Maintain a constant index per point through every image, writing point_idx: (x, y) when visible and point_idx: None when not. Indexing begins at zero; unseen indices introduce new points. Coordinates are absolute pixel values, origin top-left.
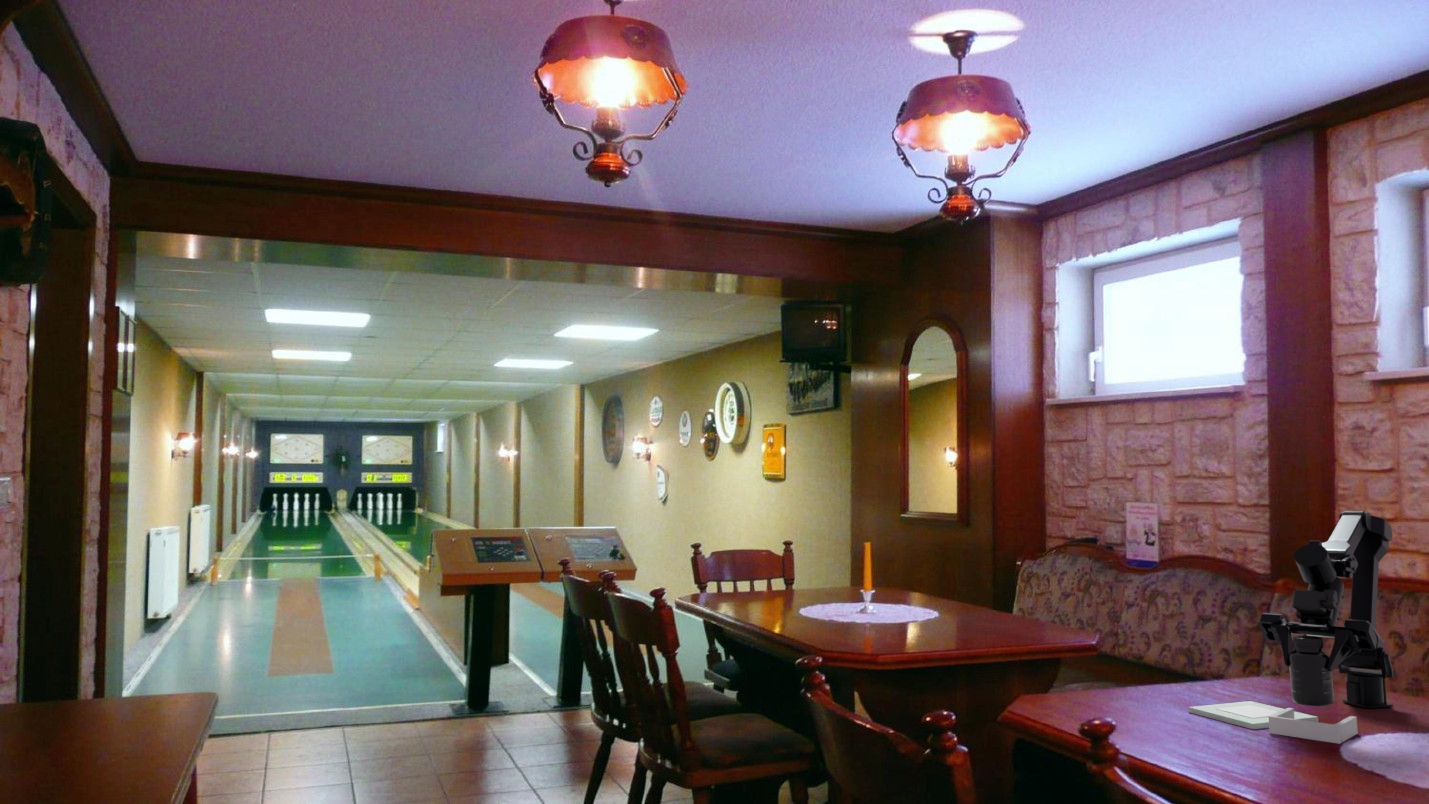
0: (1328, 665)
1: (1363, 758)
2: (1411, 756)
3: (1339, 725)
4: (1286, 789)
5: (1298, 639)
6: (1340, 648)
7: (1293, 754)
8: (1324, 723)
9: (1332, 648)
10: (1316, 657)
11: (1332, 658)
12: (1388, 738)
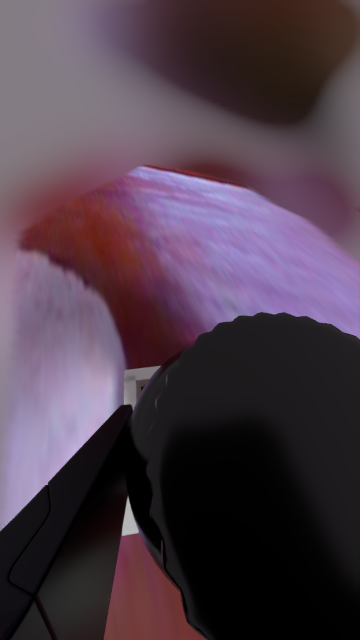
0: (126, 408)
1: (81, 315)
2: (19, 378)
3: (125, 379)
4: (115, 186)
5: (299, 319)
6: (3, 532)
7: (155, 276)
8: (152, 374)
9: (80, 506)
10: (166, 365)
11: (100, 436)
12: None
